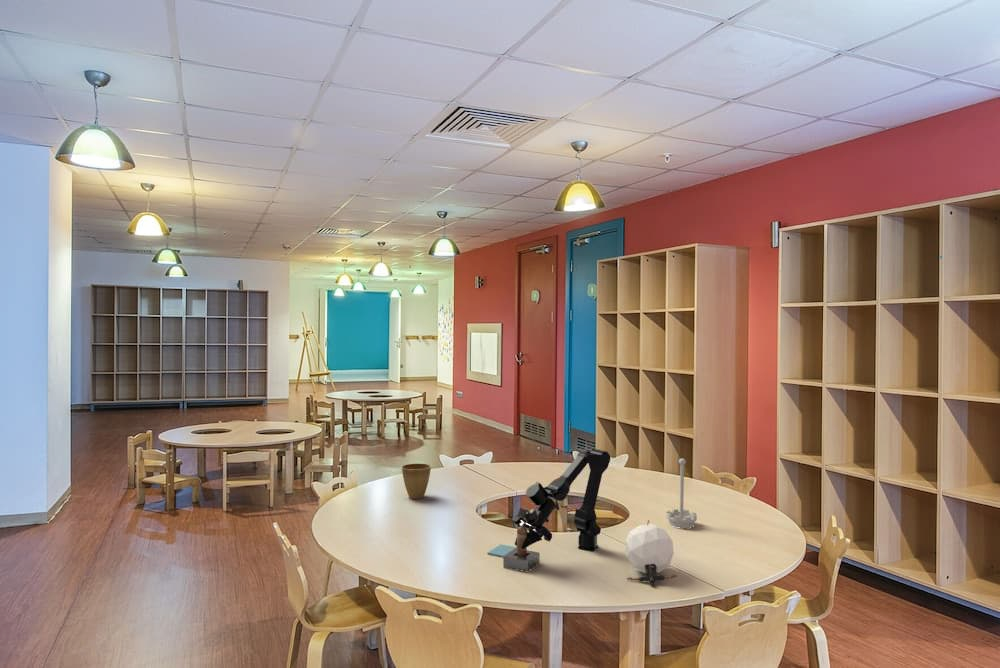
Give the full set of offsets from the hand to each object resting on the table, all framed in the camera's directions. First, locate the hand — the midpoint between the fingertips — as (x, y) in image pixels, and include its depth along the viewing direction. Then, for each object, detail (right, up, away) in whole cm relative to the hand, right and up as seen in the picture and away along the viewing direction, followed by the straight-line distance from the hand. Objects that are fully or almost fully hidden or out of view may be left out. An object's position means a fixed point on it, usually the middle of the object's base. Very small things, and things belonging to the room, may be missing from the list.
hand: (518, 546), depth 238 cm
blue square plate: (-4, -7, +14) cm, 16 cm away
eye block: (+1, -7, +1) cm, 7 cm away
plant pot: (-50, -5, +92) cm, 105 cm away
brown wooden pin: (+1, -7, +1) cm, 7 cm away
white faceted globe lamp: (+47, -8, -7) cm, 48 cm away
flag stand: (+75, -7, +51) cm, 91 cm away
